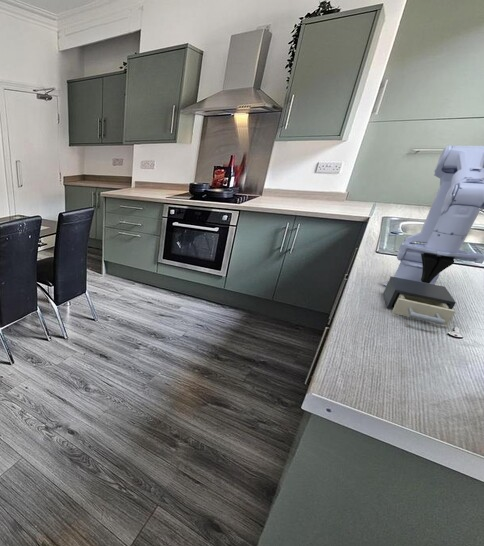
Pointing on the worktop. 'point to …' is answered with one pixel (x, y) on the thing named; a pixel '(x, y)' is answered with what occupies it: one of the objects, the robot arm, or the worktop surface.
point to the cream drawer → (423, 309)
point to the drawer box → (416, 291)
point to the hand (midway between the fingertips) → (425, 281)
